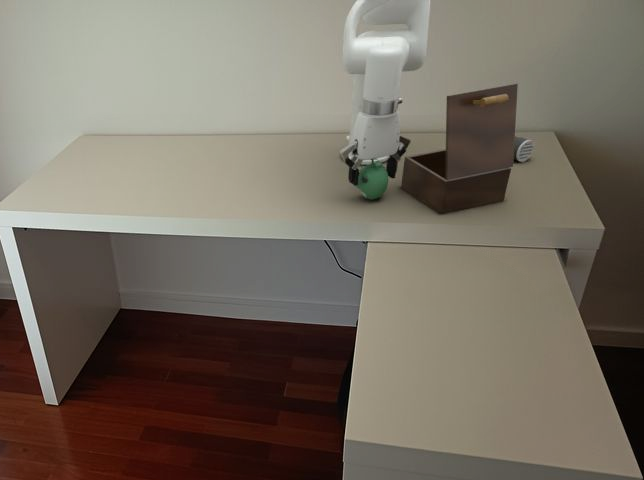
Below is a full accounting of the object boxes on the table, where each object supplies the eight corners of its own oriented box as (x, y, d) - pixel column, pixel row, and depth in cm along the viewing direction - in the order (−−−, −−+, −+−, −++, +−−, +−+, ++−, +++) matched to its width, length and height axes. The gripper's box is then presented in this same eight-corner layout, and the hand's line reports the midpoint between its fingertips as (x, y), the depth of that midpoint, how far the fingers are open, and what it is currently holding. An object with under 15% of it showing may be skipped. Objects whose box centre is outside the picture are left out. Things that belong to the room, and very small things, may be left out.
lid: (446, 95, 135) (461, 95, 131) (515, 83, 138) (532, 82, 133) (445, 179, 142) (459, 182, 137) (510, 166, 145) (526, 168, 140)
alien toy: (349, 194, 159) (353, 154, 153) (380, 190, 159) (385, 151, 153) (358, 206, 153) (362, 165, 147) (390, 202, 153) (395, 162, 147)
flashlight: (470, 147, 176) (473, 127, 173) (485, 142, 178) (489, 123, 175) (515, 163, 165) (520, 143, 162) (531, 159, 167) (536, 138, 163)
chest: (400, 187, 160) (404, 156, 155) (459, 175, 162) (465, 145, 158) (440, 214, 147) (445, 181, 142) (503, 200, 149) (511, 168, 145)
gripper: (405, 96, 147) (396, 168, 157) (336, 107, 144) (331, 181, 154) (424, 104, 141) (413, 179, 151) (352, 116, 138) (346, 192, 148)
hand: (371, 180), depth 153 cm, fingers open, 9 cm apart
